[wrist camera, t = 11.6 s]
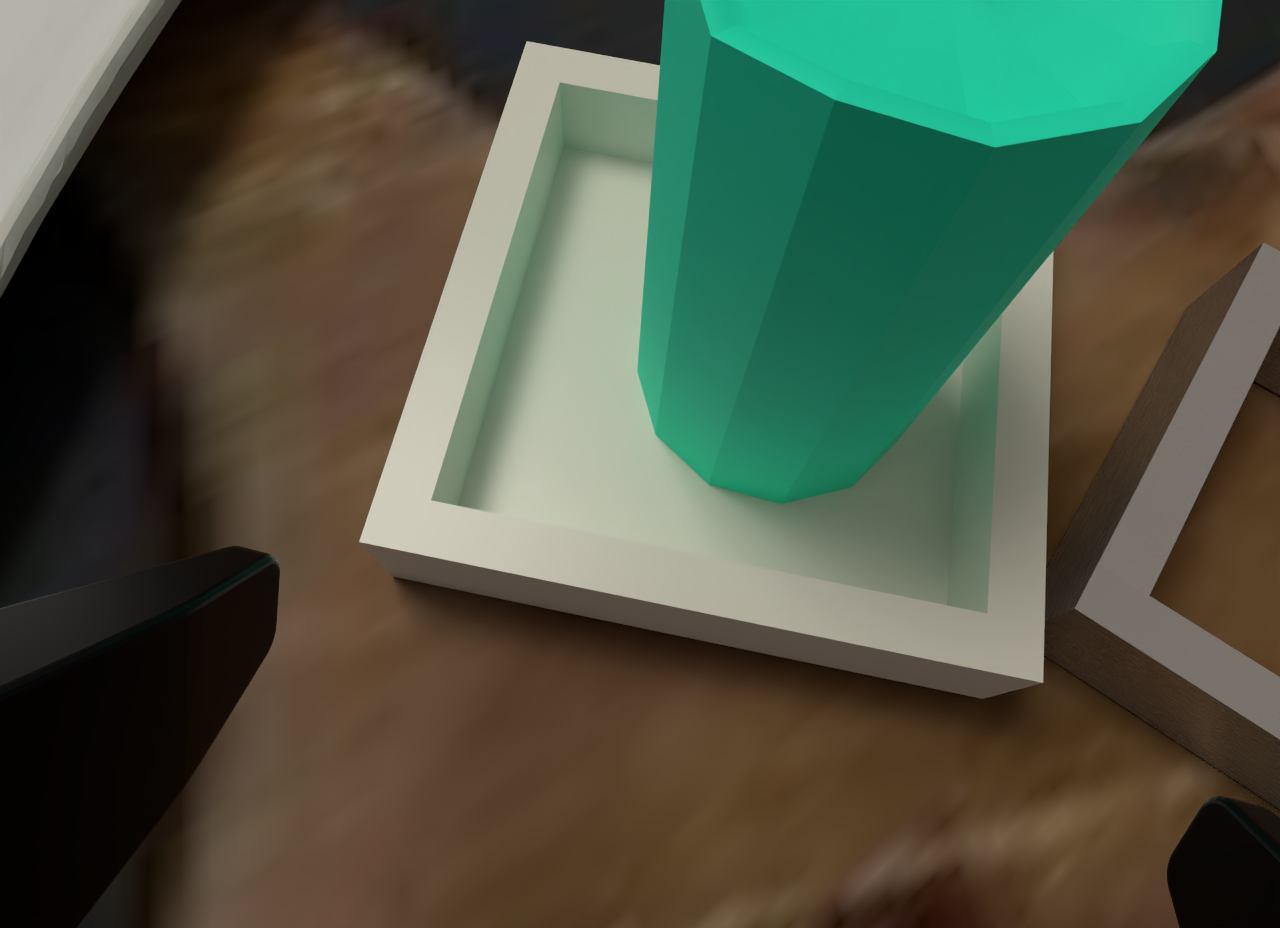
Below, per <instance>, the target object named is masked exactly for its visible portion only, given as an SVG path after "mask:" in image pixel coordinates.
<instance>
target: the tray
mask: <svg viewBox="0 0 1280 928" xmlns="http://www.w3.org/2000/svg"><path fill="white" fill-rule="evenodd" d="M659 74H660V66H659V65H654V64H648V63H643V62H637V61H632V60H626V59H621V58H615V57H610V56H604V55H599V54H593V53H588V52H582V51H577V50H571V49H566V48H560V47H555V46H550V45H544V44H539V43H533V42H528V41H527V42H526V45H525V48H524V51H523V54H522V57H521V60H520V63H519V66H518V69H517V72H516V75H515V78H514V81H513V84H512V87H511V90H510V93H509V96H508V99H507V102H506V105H505V108H504V111H503V114H502V117H501V120H500V123H499V126H498V129H497V132H496V135H495V138H494V141H493V144H492V147H491V150H490V153H489V156H488V159H487V162H486V165H485V168H484V171H483V174H482V177H481V180H480V183H479V186H478V189H477V192H476V195H475V198H474V201H473V204H472V207H471V210H470V213H469V216H468V218H467V221H466V224H465V227H464V230H463V233H462V236H461V239H460V242H459V245H458V248H457V251H456V254H455V257H454V260H453V263H452V266H451V269H450V272H449V275H448V278H447V281H446V284H445V287H444V290H443V293H442V296H441V299H440V302H439V305H438V308H437V311H436V314H435V317H434V320H433V323H432V326H431V329H430V332H429V335H428V338H427V341H426V344H425V347H424V350H423V353H422V356H421V359H420V362H419V365H418V368H417V371H416V374H415V377H414V380H413V383H412V386H411V389H410V392H409V395H408V398H407V401H406V404H405V407H404V410H403V413H402V416H401V419H400V422H399V425H398V428H397V431H396V434H395V437H394V440H393V443H392V446H391V449H390V452H389V455H388V458H387V461H386V464H385V467H384V470H383V473H382V476H381V479H380V482H379V485H378V488H377V491H376V494H375V497H374V500H373V503H372V506H371V508H370V511H369V514H368V517H367V520H366V523H365V526H364V529H363V532H362V535H361V538H360V541H359V542H360V543H361V544H362V545H363V546H364V547H365V548H366V549H367V551H368V552H369V553H370V554H371V555H372V556H373V557H374V558H375V559H376V560H377V561H378V562H379V563H380V564H381V565H382V566H383V567H384V568H385V569H386V570H387V571H388V572H389V573H390V575H391V576H392V577H397V578H402V579H407V580H412V581H416V582H421V583H426V584H431V585H436V586H441V587H445V588H450V589H455V590H460V591H465V592H470V593H474V594H479V595H484V596H489V597H494V598H498V599H503V600H508V601H513V602H518V603H523V604H527V605H532V606H537V607H542V608H547V609H552V610H556V611H561V612H566V613H571V614H576V615H580V616H585V617H590V618H595V619H600V620H605V621H609V622H614V623H619V624H624V625H629V626H634V627H638V628H643V629H648V630H653V631H658V632H662V633H667V634H672V635H677V636H682V637H687V638H691V639H696V640H701V641H706V642H711V643H716V644H720V645H725V646H730V647H735V648H740V649H744V650H749V651H754V652H759V653H764V654H769V655H773V656H778V657H783V658H788V659H793V660H798V661H802V662H807V663H812V664H817V665H822V666H826V667H831V668H836V669H841V670H846V671H851V672H855V673H860V674H865V675H870V676H875V677H880V678H884V679H889V680H894V681H899V682H904V683H908V684H913V685H918V686H923V687H928V688H933V689H937V690H942V691H947V692H952V693H957V694H962V695H966V696H971V697H976V698H981V699H984V698H988V697H992V696H995V695H999V694H1003V693H1007V692H1011V691H1014V690H1018V689H1022V688H1026V687H1030V686H1033V685H1037V684H1041V683H1043V670H1044V627H1045V585H1046V543H1047V500H1048V458H1049V416H1050V374H1051V331H1052V289H1053V252H1052V253H1051V254H1050V255H1049V257H1048V258H1047V259H1046V260H1045V261H1044V263H1043V264H1042V265H1041V266H1040V268H1039V269H1038V270H1037V271H1036V272H1035V274H1034V275H1033V276H1032V277H1031V279H1030V280H1029V281H1028V282H1027V283H1026V285H1025V286H1024V287H1023V288H1022V290H1021V291H1020V292H1019V293H1018V294H1017V296H1016V297H1015V298H1014V299H1013V301H1012V302H1011V303H1010V304H1009V305H1008V307H1007V308H1006V309H1005V310H1004V312H1003V313H1002V314H1001V315H1000V316H999V318H998V319H997V320H996V321H995V323H994V324H993V325H992V326H991V327H990V329H989V330H988V331H987V332H986V334H985V335H984V336H983V337H982V338H981V340H980V341H979V342H978V343H977V345H976V346H975V347H974V348H973V349H972V351H971V352H970V353H969V354H968V356H967V357H966V358H965V359H964V360H963V362H962V363H961V364H960V365H959V367H958V368H957V369H956V370H955V371H954V373H953V374H952V375H951V376H950V378H949V379H948V380H947V381H946V382H945V384H944V385H943V386H942V387H941V389H940V390H939V391H938V392H937V393H936V395H935V396H934V397H933V398H932V400H931V401H930V402H929V403H928V404H927V406H926V407H925V408H924V409H923V411H922V412H921V413H920V414H919V415H918V417H917V418H916V419H915V420H914V421H913V423H912V424H911V425H910V426H909V428H908V429H907V430H906V431H905V432H904V434H903V435H902V436H901V437H900V439H899V440H898V441H897V442H896V443H895V444H894V445H893V446H892V447H891V448H890V449H889V450H888V451H887V452H886V453H885V454H884V455H883V456H882V457H881V458H880V459H879V460H878V461H877V462H876V463H875V464H874V465H873V466H872V467H871V468H870V469H869V470H868V471H867V472H866V473H865V474H864V475H863V476H862V477H861V478H860V479H859V480H858V481H857V482H856V483H855V484H854V485H853V486H852V487H851V488H847V489H843V490H839V491H834V492H830V493H826V494H822V495H818V496H814V497H809V498H805V499H801V500H797V501H793V502H789V503H784V504H778V503H775V502H771V501H767V500H764V499H760V498H756V497H753V496H749V495H745V494H742V493H738V492H734V491H730V490H727V489H723V488H719V487H716V486H712V485H708V484H707V483H706V482H705V481H704V480H703V479H702V478H701V477H700V476H699V475H698V474H697V473H696V472H695V471H693V470H692V469H691V468H690V467H689V466H688V465H687V464H686V463H685V462H684V461H683V460H682V459H681V458H680V457H679V456H678V455H677V454H675V453H674V452H673V451H672V450H671V449H670V448H669V447H668V446H667V445H666V444H665V443H664V442H663V441H662V440H661V439H660V438H658V437H657V436H656V435H655V431H654V428H653V424H652V421H651V417H650V414H649V410H648V407H647V403H646V400H645V397H644V393H643V390H642V386H641V383H640V379H639V376H638V372H637V366H638V353H639V340H640V327H641V313H642V300H643V287H644V273H645V260H646V247H647V234H648V220H649V207H650V194H651V180H652V167H653V154H654V140H655V127H656V114H657V101H658V87H659Z"/></svg>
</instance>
